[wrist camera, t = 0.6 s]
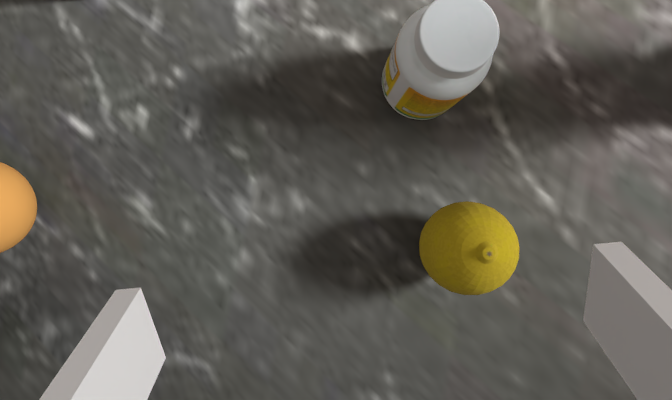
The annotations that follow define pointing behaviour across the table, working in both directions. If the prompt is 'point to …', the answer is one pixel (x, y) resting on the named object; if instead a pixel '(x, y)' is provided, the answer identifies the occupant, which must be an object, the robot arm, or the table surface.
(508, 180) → the table surface
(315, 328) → the table surface
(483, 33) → the supplement bottle
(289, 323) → the table surface
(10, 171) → the ball
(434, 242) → the lemon
